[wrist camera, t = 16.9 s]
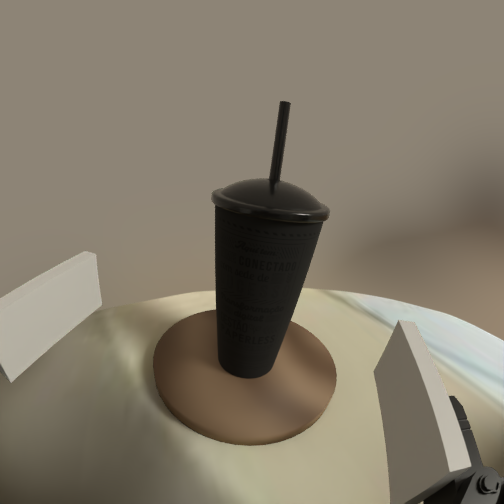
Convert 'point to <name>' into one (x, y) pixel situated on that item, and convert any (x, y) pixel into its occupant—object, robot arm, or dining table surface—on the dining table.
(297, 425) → the coaster board
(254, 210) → the drinking cup
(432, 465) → the robot arm
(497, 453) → the dining table surface
